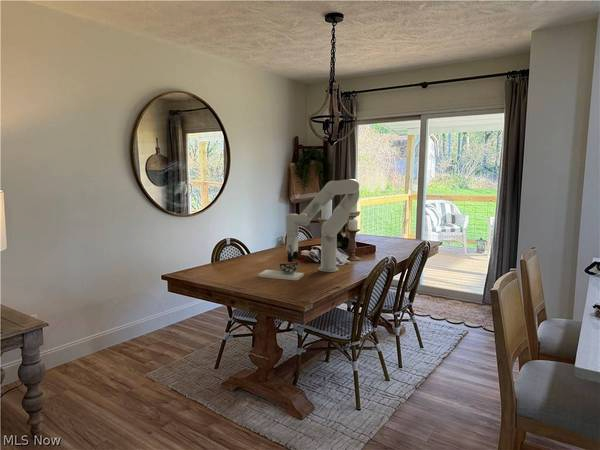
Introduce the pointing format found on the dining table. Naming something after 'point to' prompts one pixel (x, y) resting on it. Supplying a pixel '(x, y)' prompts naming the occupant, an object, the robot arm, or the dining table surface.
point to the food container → (289, 267)
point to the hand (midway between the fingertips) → (292, 260)
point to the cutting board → (280, 275)
